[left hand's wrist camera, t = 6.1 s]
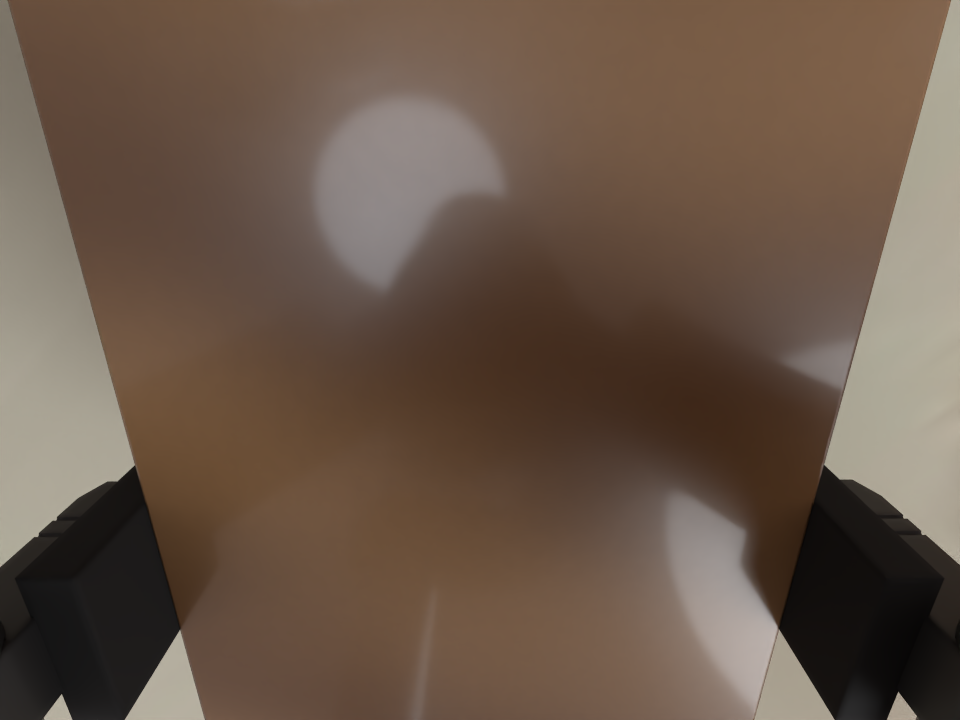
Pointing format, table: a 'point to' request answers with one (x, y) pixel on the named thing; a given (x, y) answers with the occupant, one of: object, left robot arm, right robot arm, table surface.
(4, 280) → the table surface
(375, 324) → the wooden box
